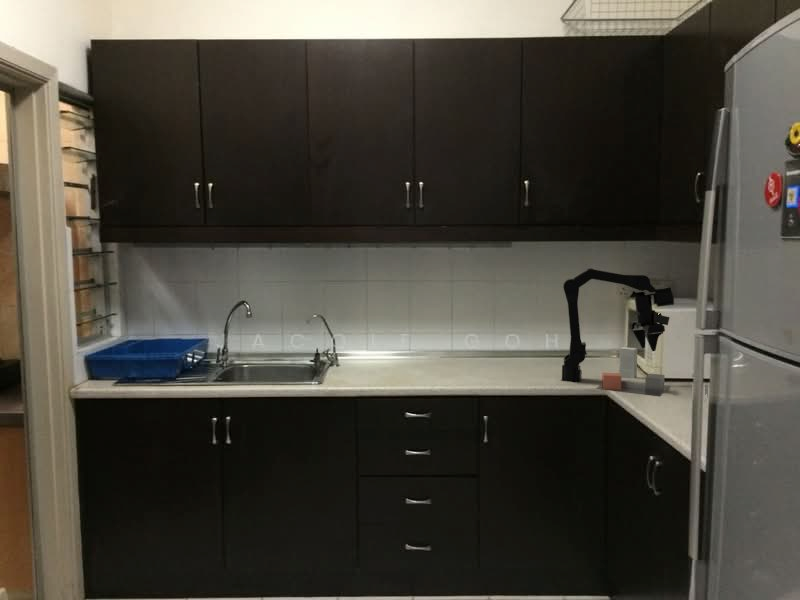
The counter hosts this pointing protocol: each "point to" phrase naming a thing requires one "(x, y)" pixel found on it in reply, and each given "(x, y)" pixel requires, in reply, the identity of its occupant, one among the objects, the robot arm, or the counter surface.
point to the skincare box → (628, 362)
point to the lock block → (611, 381)
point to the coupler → (643, 386)
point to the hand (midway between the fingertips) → (648, 349)
